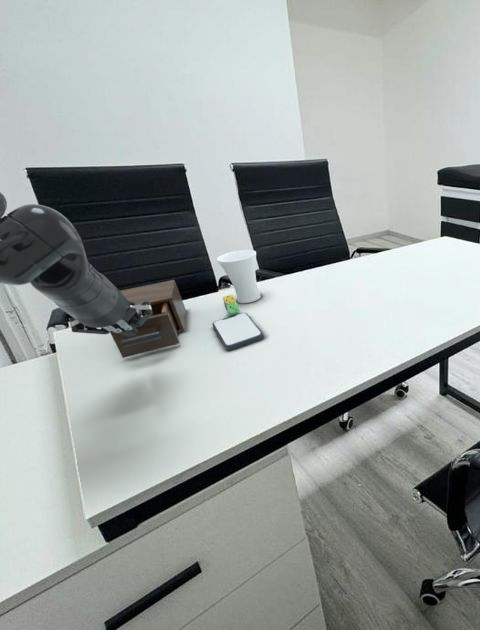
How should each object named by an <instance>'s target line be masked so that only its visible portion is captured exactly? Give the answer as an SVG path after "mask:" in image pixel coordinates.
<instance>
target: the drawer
mask: <svg viewBox="0 0 480 630" xmlns="http://www.w3.org/2000/svg"><path fill="white" fill-rule="evenodd" d="M151 308H152V313H153V314H152V315H151V316H150V317H149V318H148V319H147V320H146V321H145V322H144V324H143V325H142V326H139V327H137V328H138V333H136V335H135V336H131V337H127V336H122V335H121V334H119V333H115V332H113V331H110V333H109V334H110V335H111V337H112V339H113V342H114V343H115V344H116V347H117V349H118V352H119V353H120V355H121V358H122V359H124V358H128V357H133V356H136V355H140V354H144V353H147V352H152V351H155V350H159V349H164V348H167V347H170V346H174V345H179V344H180V343H181V341H180V339H179V336H178V333H177V328H178V323H177V320H176V318H175V315H174V313H173V310H172V308H171V305H170V303H169V301H168V302H163V303H159V304H154V305H151Z"/></svg>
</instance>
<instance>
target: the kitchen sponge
mask: <svg viewBox="0 0 480 630" xmlns="http://www.w3.org/2000/svg"><path fill="white" fill-rule="evenodd" d="M222 300H223V305H224V307H225V311H226V312H227V315H228V317H230V316H233V315H237V314H240V313H241V312H240V308H239V305H238V302H237V300H236V297H235V295H234V294H226V295H224V296H222Z"/></svg>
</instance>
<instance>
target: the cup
mask: <svg viewBox="0 0 480 630" xmlns="http://www.w3.org/2000/svg"><path fill="white" fill-rule="evenodd" d="M216 261H217V262H218V264H219V265H220V267H221V268H222V269H223V271H224V273H226V275H227V277H228V279H229V281H230V282H231V284H232V286H233V288H234V291H235V295H236V299H237V300H236V301H237V303H239V304H248V303H249V304H250V303H253V302H255V301H258V300H259V299H261V297H262V296H261V293H260V290H259V288H258V284H257V283H258V282H257V277H256V276H257V275H256V264H257V251H256V250H253V249H239V250H234V251H230V252H226V253H223V254H221V255H219V256H218V257H216Z"/></svg>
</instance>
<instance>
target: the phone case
mask: <svg viewBox="0 0 480 630" xmlns="http://www.w3.org/2000/svg"><path fill="white" fill-rule="evenodd" d="M239 313H240V314H237V315H233V316H230V317H229V316H227V317H223V318H220V319H217V320H214V321H213V322H212V324H211V325H212V328H213V329H214V332H215V334H216V335H217V337H218V338H219V340H220V342H221V344H222V345H223V347H224V348H225V350H226V351H234V350H236V349H239V348H242V347H245V346H248V345H250V344H254V343H256V342H259V341H262V340H263V339H264V333H263V331H262V329H260V328H259V326H258V325H257V324H256V323H255V321H254V320H253V319H252V318H251V316H250V315H249V314H248V313H247V312H239Z"/></svg>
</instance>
